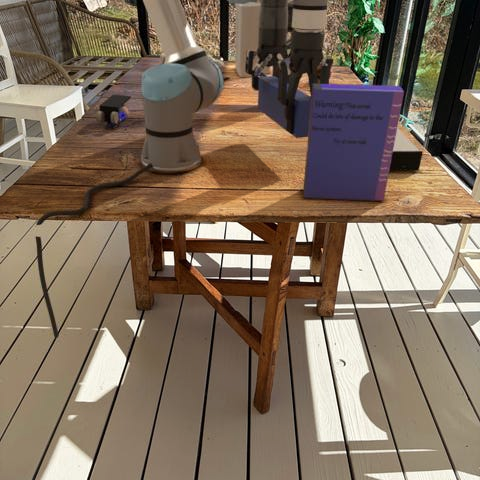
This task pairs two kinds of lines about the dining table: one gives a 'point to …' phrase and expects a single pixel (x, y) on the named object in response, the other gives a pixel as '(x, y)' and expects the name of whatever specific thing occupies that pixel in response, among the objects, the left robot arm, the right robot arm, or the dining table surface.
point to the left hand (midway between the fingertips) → (299, 131)
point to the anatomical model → (320, 70)
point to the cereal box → (351, 141)
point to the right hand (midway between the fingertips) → (270, 89)
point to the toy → (163, 57)
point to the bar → (276, 110)
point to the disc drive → (405, 154)
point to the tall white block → (247, 35)
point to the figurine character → (113, 110)
